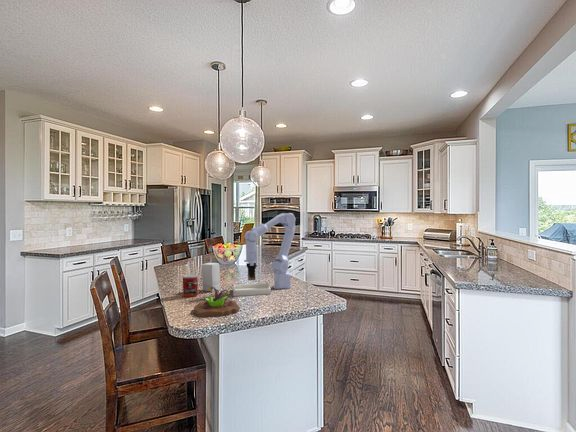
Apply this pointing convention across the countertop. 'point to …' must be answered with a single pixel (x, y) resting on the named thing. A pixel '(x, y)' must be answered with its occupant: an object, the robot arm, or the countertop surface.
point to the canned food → (190, 285)
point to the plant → (216, 306)
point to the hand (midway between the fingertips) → (251, 276)
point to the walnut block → (252, 277)
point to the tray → (251, 289)
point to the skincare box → (211, 276)
